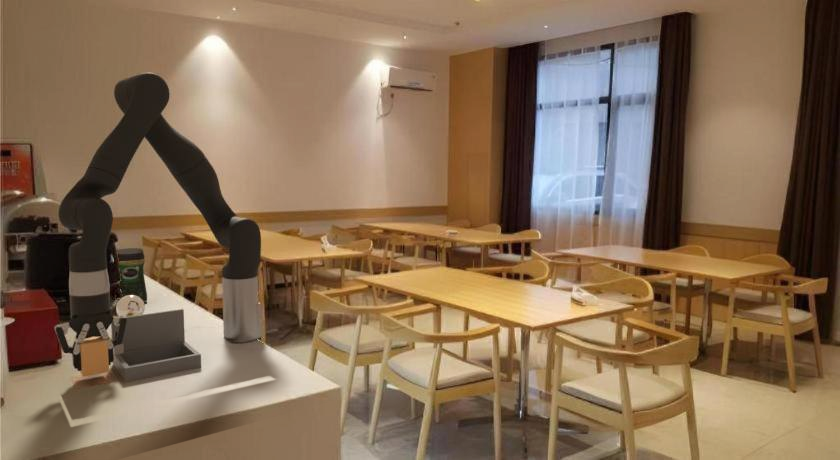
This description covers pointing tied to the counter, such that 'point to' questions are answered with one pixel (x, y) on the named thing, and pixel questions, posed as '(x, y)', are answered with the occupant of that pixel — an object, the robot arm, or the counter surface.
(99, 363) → the block
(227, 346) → the counter surface
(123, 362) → the case
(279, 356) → the counter surface
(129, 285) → the coffee jar
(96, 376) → the pad
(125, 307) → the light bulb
